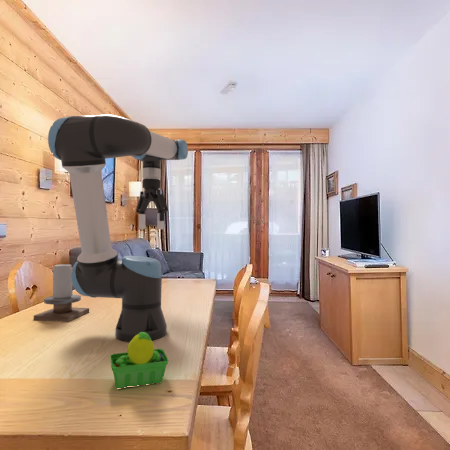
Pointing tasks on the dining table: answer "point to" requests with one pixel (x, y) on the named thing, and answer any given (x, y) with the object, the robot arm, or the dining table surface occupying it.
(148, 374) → the fruit basket
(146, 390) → the dining table surface
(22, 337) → the dining table surface
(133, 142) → the robot arm
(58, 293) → the beverage can
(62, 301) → the pedestal stand
